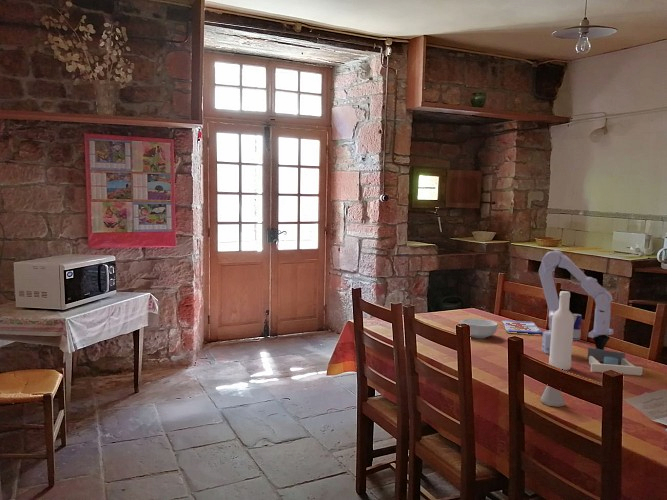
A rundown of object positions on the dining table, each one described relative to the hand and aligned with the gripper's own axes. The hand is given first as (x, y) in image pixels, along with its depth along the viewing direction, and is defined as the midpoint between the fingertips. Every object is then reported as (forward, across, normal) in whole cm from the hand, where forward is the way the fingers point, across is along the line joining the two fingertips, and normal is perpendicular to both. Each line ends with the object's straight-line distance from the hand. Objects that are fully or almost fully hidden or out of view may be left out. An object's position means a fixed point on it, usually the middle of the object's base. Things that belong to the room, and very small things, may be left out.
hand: (599, 352), depth 220 cm
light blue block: (+3, -7, -9) cm, 11 cm away
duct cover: (+3, 0, -3) cm, 4 cm away
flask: (+3, -60, -21) cm, 64 cm away
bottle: (+3, -24, +1) cm, 25 cm away
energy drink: (+3, +21, +26) cm, 33 cm away
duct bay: (+3, -7, -9) cm, 11 cm away
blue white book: (+4, +14, +51) cm, 53 cm away
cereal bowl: (+3, -17, +50) cm, 53 cm away
